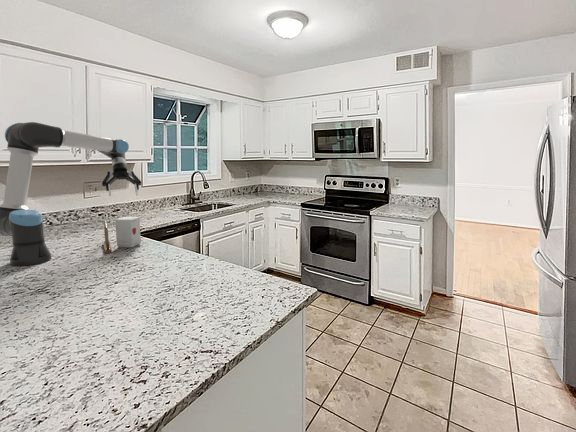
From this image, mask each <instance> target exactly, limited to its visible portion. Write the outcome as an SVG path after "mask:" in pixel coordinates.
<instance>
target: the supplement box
mask: <svg viewBox="0 0 576 432" xmlns="http://www.w3.org/2000/svg"><path fill="white" fill-rule="evenodd" d="M114 222H115V234H116V235H115V238H116V247H117V248H119V247H133V248H135V247H134V246H136V245H138V244H140V245H141V244H142V239H141V238H142V237H141V223H140V222H141V221H140V216H139V217H138V216H123V217H119V218H115V219H114Z"/></svg>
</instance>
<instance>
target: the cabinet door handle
mask: <svg viewBox="0 0 576 432" xmlns="http://www.w3.org/2000/svg"><path fill="white" fill-rule="evenodd" d="M103 228H104V229H103V231H104V241H103V250H104V254H112V253H113V251H112V246H111V243H110V242H111V241H110V240H109V231H108V223H107V221H106V220H105V221H104V222H103Z"/></svg>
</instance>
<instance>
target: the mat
mask: <svg viewBox="0 0 576 432" xmlns="http://www.w3.org/2000/svg"><path fill="white" fill-rule="evenodd" d="M139 247H141V244H138V245H136V246H134V247H118V248H119V249H120V250H122V249H132V248H133V249H134V248H139Z"/></svg>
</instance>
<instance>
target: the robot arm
mask: <svg viewBox="0 0 576 432" xmlns="http://www.w3.org/2000/svg"><path fill="white" fill-rule="evenodd" d="M4 138H5V141H6V142H7V147H6V149H7V150H8V151H9V152H10V155H9V163H8V169H7V177H6V184H5V189H4V197H3V202H2V203H1V204H0V235H2V236H6V237H11V238H12V239H11V240H12V241H11V242H12V250H11V254H10V257H9V262H10V266H14V267H16V266H17V267H21V266H31V265H38V264H42V263H46V262H48V261H50V260H51V259H52V254H51V252H50V250H49V248H48V246H47V244H46V241H45V239H46V238H45V233H44V223H43V221H44V220H43V217H42V216H43V215H42V212H40V211H39V210H36V209H30V208H29V206H28V205H27V203H28V202H27V201H28V197H29V189H30V182H31V175H32V170H33V169H32V168H33V162H34V157H35V156H37V155H38V153H39V148H48V147H49V148H60V147H68V148H76V149H83V150H91V151H96V152H98V153H101V154H102V155H104V156H107V157H108V158H110V159H111V165H112V172H111V171H107V174H106V175H105V177H104V179H103V180H102V182H101V186H102V187H105V189H106V192H108V197H112V191H111V185H112V184H113V183H114V182H115V181H117V180H119V181H120V180H126V181H128V182H129V183H131V184H132V185H134V191H135V195H136V196H138V194H139V192H138V191H139V189H140V186H142V181H141V180H140V178H138V176H137V175H136V174H135V172H134V171H133V170H132V171H130V172H129V171H128V167H127V166H128V165H127V161H126V153H127V152H128V150H129V142H127V140H125V139H121V138H119V139H115V138H109V137H105V136H98V135H92V134H86V133H81V132H76V131H75V132H74V131H69V130H63V129H62V128H61V127H58V126H52V125H48V124H44V123H42V122H41V123H40V122H37V121H36V122H35V121H29V122H17V123H13V124H11V125H9V126H8V127H7V128H6V129H5V132H4Z"/></svg>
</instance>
